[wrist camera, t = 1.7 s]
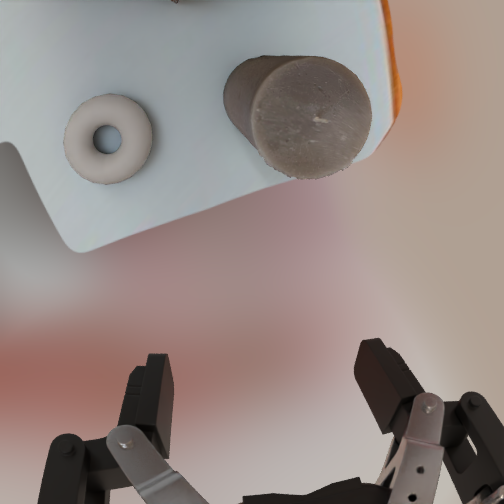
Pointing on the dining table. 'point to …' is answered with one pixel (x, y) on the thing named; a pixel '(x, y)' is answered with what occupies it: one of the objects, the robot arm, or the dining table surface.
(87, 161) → the donut
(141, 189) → the dining table surface
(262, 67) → the pillar candle
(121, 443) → the robot arm
